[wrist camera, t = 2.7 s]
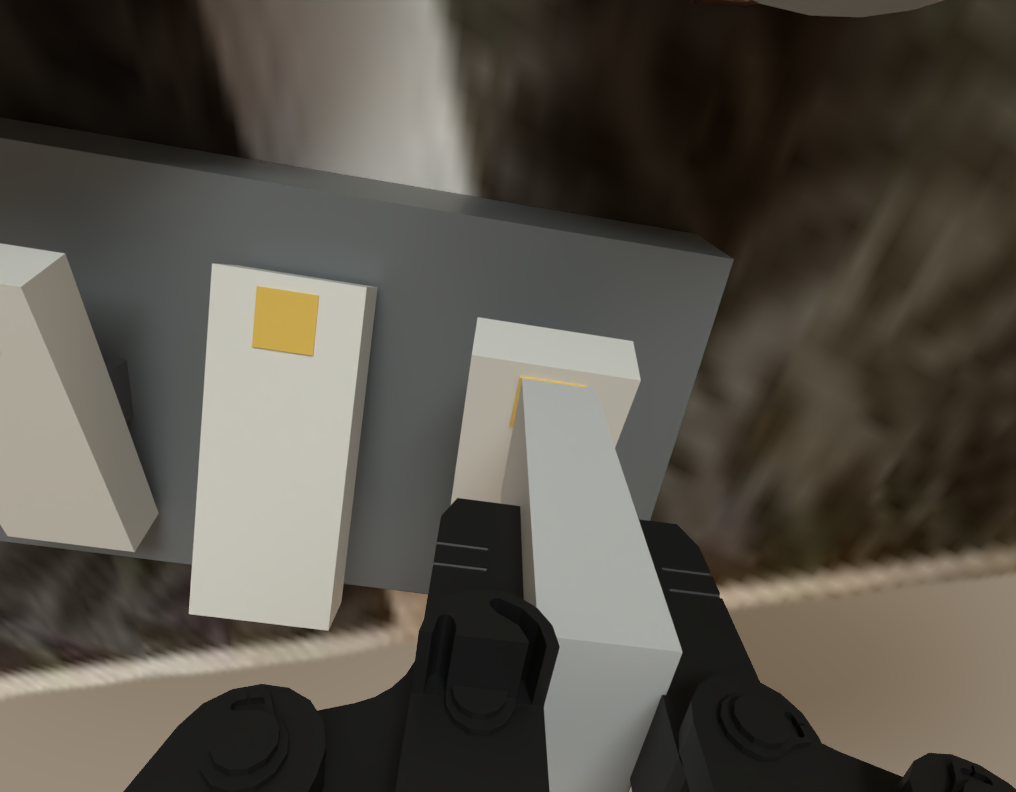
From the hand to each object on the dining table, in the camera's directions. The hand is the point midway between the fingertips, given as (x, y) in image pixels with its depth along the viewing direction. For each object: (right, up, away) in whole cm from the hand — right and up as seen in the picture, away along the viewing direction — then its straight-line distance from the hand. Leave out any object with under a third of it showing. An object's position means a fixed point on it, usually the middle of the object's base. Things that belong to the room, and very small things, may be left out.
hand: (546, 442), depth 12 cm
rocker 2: (-7, -1, +5) cm, 9 cm away
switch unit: (-7, +2, +11) cm, 13 cm away
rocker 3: (0, -2, +5) cm, 6 cm away
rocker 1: (-14, 0, +4) cm, 15 cm away
